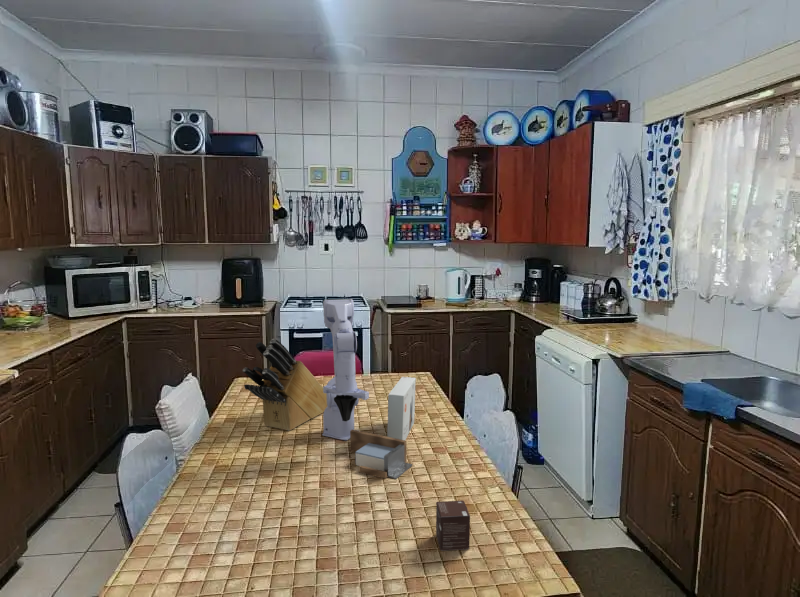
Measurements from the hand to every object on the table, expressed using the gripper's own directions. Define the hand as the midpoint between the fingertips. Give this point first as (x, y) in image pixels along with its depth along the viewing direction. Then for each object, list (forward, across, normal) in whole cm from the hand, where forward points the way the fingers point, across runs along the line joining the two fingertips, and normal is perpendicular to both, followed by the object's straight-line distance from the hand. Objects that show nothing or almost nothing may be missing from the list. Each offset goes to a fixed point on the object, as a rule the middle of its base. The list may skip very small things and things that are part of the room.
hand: (346, 420), depth 147 cm
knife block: (+10, -31, +13) cm, 35 cm away
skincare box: (+10, +7, +21) cm, 24 cm away
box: (+10, +44, -26) cm, 52 cm away
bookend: (+10, +19, -3) cm, 21 cm away
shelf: (+10, +9, -3) cm, 14 cm away
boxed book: (+10, +12, -2) cm, 15 cm away
